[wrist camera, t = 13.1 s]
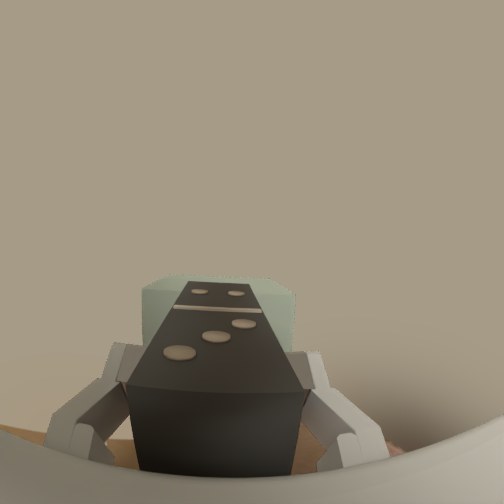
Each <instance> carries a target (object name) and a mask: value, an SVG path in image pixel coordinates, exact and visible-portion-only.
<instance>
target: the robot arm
mask: <svg viewBox="0 0 504 504" xmlns="http://www.w3.org/2000/svg"><path fill="white" fill-rule="evenodd" d="M146 349H147V346H139V345H132V344H124V343H116V342H115V343H114V344H113V345H112V347H111V350H110V353H109V355H108V359H107V362H106V365H105V368H104V371H103V374H102V377H101V379H99V378H97V379H96V380H94V381H93V382H92V383H91V384H90V385H88V386H87V387H86V388H85V389H84V390H82V391H81V392H80V393H79V394H77V395H76V396H75V397H73V398H72V399H71V400H70V401H69V402H67V403H66V404H65V405H64V406H62V407H61V408H60V409H59V410H57V411H56V412H55V413H54V414H53V415H52V418H51V421H50V424H49V427H48V430H47V433H46V437H45V440H44V443H43V446H41V445H39V444H36V443H33V442H31V441H28V440H25V439H23V438H20V437H18V436H15V435H13V434H11V433H8V432H6V431H4V430H2V429H0V504H504V414H503V415H500V416H498V417H496V418H494V419H492V420H490V421H488V422H486V423H483V424H481V425H479V426H477V427H475V428H472V429H470V430H468V431H466V432H463V433H461V434H458V435H456V436H454V437H451V438H449V439H446V440H443V441H440V442H438V443H435V444H432V445H430V446H427V447H423V448H420V449H417V450H414V451H411V452H408V453H404V454H401V455H397V456H394V457H390V456H389V453H388V449H387V446H386V443H385V440H384V437H383V435H382V431H381V428H380V426H379V425H377V424H376V423H375V422H374V421H373V420H372V419H370V418H369V417H368V416H367V415H366V414H364V413H363V412H362V411H361V410H360V409H359V408H357V407H356V406H355V405H354V404H353V403H351V401H349V400H348V399H347V398H346V397H345V396H344V395H342V394H341V393H340V392H339V391H338V390H337V389H336V388H331V387H330V383H329V380H328V377H327V373H326V370H325V367H324V363H323V360H322V357H321V353H320V352H319V351H310V352H303V351H302V352H284V353H285V354H286V356H287V358H288V360H289V362H290V364H291V366H292V368H293V370H294V372H295V373H296V375H297V377H298V379H299V381H300V383H301V385H302V387H303V389H304V390H305V396H304V402H303V409H302V415H301V421H302V422H303V424H304V425H305V426H306V427H307V428H308V429H309V431H310V432H311V433H312V434H313V435H314V436H315V438H316V439H317V440H318V441H319V442H320V443H321V444H322V446H323V447H324V448H325V449H326V450H327V451H326V452H325V453H324V455H323V456H322V457H321V458H320V459H319V461H318V462H317V463H316V465H317V471H318V472H314V473H306V474H297V475H287V476H273V477H252V478H217V477H195V476H182V475H171V474H162V473H155V472H147V471H141V470H135V469H129V468H123V467H118V466H113V465H114V458H115V457H114V455H113V454H112V453H111V451H110V450H109V449H108V447H107V446H106V445H105V444H104V443H105V442H106V440H107V439H108V438H109V437H110V436H111V435H112V434H113V433H114V432H115V430H116V429H117V428H118V427H119V426H120V425H121V424H122V422H123V421H124V420H125V419H126V418H127V417H128V416H129V415H130V414H129V407H128V400H127V393H126V383H127V381H128V379H129V378H130V376H131V374H132V372H133V371H134V369H135V367H136V366H137V364H138V362H139V361H140V359H141V357H142V355H143V354H144V352H145V350H146Z"/></svg>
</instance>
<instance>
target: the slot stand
mask: <svg viewBox="0 0 504 504" xmlns="http://www.w3.org/2000/svg"><path fill="white" fill-rule="evenodd" d="M188 281H198V282H218V283H239V284H249V285H250V287H251V289H252V291H253V293H254V295H255V297H256V299H257V301H258V302H259V304H260V306H261V308H262V310H263V312H264V314H265V316H266V318H267V320H268V322H269V324H270V326H271V328H272V330H273V331H274V333H275V335H276V337H277V339H278V341H279V343H280V345H281V347H282V349H283V351H284V352H292V341H293V329H294V328H293V327H294V314H295V297H296V295H295V294H294V293H292V292H290V291H289V290H287V289H286V288H284V287H282V286H281V285H279V284H277V283H276V282H274V281H273V280H271V279H269V278H239V277H213V276H190V275H170V274H169V275H167V276H165V277H164V278H162V279H159V280H157V281H156V282H154V283H152V284H150V285H148V286H146V287H144V288H142V335H143V346H147V347H148V345H149V344H150V342H151V340H152V339H153V337H154V335H155V334H156V332H157V331H158V329H159V327H160V326H161V324H162V322H163V321H164V319H165V317H166V316H167V314H168V313H169V311H170V309H171V308H172V306H173V305H174V303H175V301H176V300H177V298H178V297H179V295H180V293H181V292H182V290H183V289H184V287H185V285H186V284H187V282H188Z"/></svg>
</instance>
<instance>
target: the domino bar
mask: <svg viewBox="0 0 504 504" xmlns="http://www.w3.org/2000/svg"><path fill="white" fill-rule="evenodd" d="M126 393H127V400H128V407H129V414H130V420H131V426H132V432H133V438H134V443H135V448H136V453H137V458H138V463H139V468H140V470H141V471H147V472H155V473H162V474H171V475H182V476H195V477H217V478H252V477H273V476H287V475H290V474H291V469H292V464H293V459H294V454H295V449H296V443H297V438H298V432H299V427H300V421H301V415H302V409H303V402H304V396H305V390H304V389H303V387H302V385H301V383H300V381H299V379H298V377H297V375H296V373H295V372H294V370H293V368H292V366H291V364H290V362H289V360H288V358H287V356H286V354H285V353H284V351H283V349H282V347H281V345H280V343H279V341H278V339H277V337H276V335H275V333H274V331H273V330H272V328H271V326H270V324H269V322H268V320H267V318H266V316H265V314H264V312H263V310H262V308H261V306H260V304H259V302H258V301H257V299H256V297H255V295H254V293H253V291H252V289H251V287H250V285H249V284H239V283H218V282H198V281H188V282H187V284H186V285H185V287H184V289H183V290H182V292H181V293H180V295H179V297H178V298H177V300H176V301H175V303H174V305H173V306H172V308H171V309H170V311H169V313H168V314H167V316H166V317H165V319H164V321H163V322H162V324H161V326H160V327H159V329H158V331H157V332H156V334H155V335H154V337H153V339H152V340H151V342H150V344H149V345H148V347H147V349H146V350H145V352H144V354H143V355H142V357H141V359H140V361H139V362H138V364H137V366H136V367H135V369H134V371H133V372H132V374H131V376H130V378H129V379H128V381H127V383H126Z"/></svg>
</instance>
